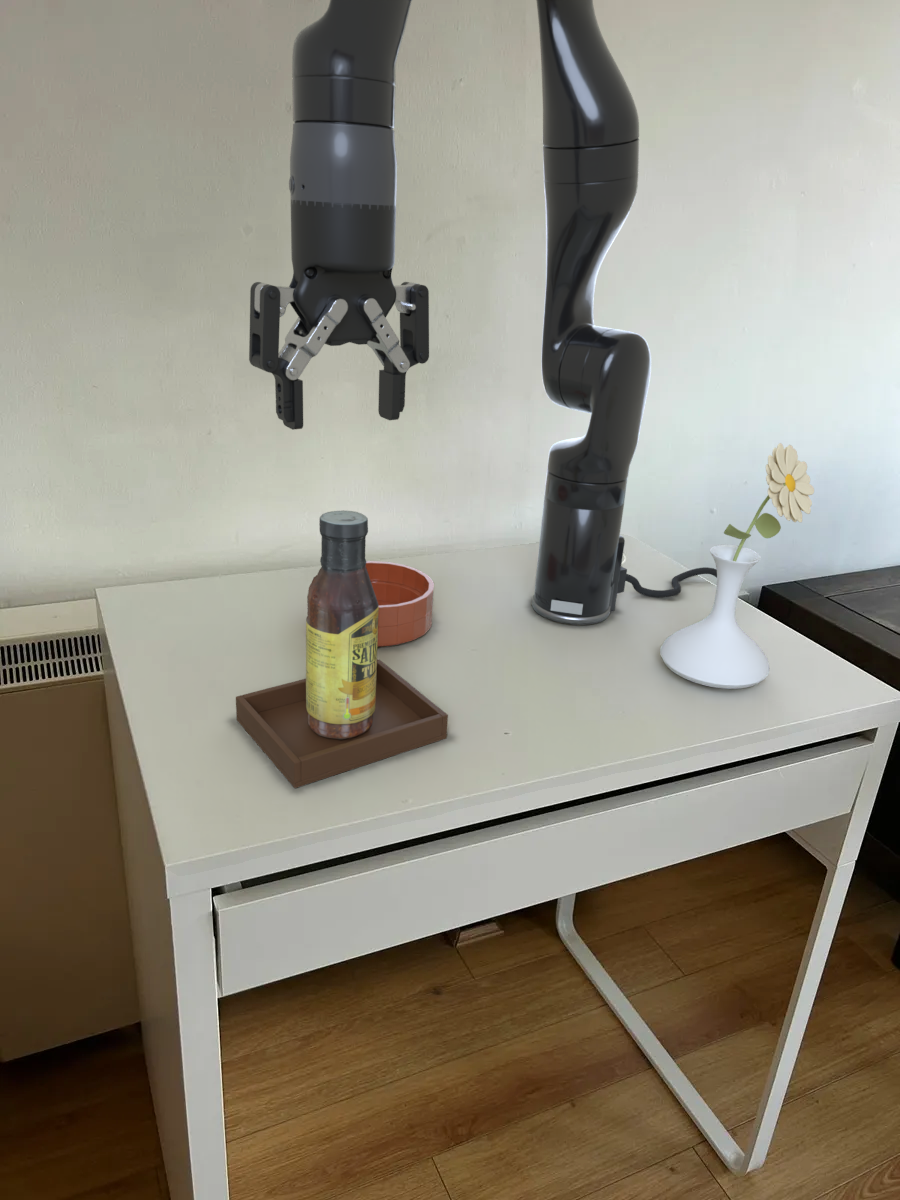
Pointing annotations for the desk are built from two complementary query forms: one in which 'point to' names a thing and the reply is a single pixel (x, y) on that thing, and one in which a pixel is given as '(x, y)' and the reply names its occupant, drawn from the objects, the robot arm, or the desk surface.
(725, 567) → the flower in vase
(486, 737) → the desk surface
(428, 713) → the tray
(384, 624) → the bowl
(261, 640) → the desk surface
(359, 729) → the sauce bottle
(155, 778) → the desk surface
